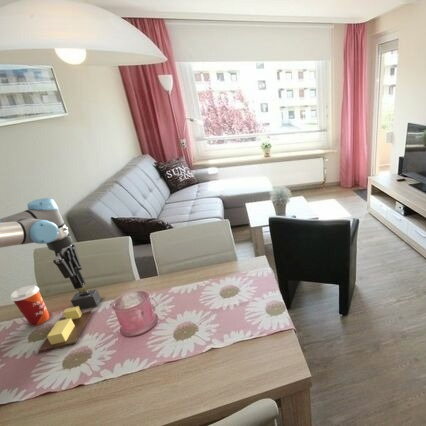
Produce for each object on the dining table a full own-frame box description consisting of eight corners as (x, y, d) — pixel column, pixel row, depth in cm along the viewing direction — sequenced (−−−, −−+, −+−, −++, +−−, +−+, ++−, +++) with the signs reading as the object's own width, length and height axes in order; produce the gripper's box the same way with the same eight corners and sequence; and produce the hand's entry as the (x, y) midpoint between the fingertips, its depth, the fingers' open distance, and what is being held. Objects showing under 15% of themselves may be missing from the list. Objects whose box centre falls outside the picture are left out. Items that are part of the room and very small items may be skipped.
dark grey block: (75, 310, 124) (70, 300, 122) (80, 303, 128) (75, 293, 126) (97, 306, 126) (92, 296, 124) (101, 298, 130) (96, 289, 128)
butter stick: (51, 344, 106) (46, 336, 105) (61, 329, 113) (57, 321, 112) (65, 341, 108) (61, 333, 106) (75, 325, 115) (71, 318, 113)
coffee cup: (50, 322, 118) (34, 293, 112) (24, 331, 114) (5, 300, 108) (55, 310, 125) (40, 281, 119) (30, 317, 121) (13, 288, 115)
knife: (80, 299, 124) (66, 270, 118) (82, 296, 126) (68, 267, 120) (88, 297, 125) (75, 268, 119) (90, 295, 127) (76, 266, 120)
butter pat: (66, 320, 117) (62, 312, 116) (69, 316, 120) (65, 308, 118) (79, 317, 119) (76, 310, 117) (82, 313, 121) (78, 306, 119)
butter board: (39, 352, 105) (38, 350, 104) (61, 319, 119) (60, 317, 119) (75, 344, 108) (74, 342, 107) (92, 312, 122) (91, 311, 122)
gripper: (59, 244, 108) (83, 295, 118) (76, 227, 121) (96, 274, 131) (35, 248, 106) (61, 299, 116) (55, 230, 119) (77, 278, 128)
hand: (80, 286), depth 123 cm, fingers closed on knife, 2 cm apart
